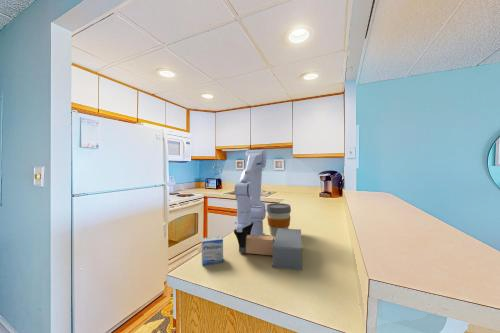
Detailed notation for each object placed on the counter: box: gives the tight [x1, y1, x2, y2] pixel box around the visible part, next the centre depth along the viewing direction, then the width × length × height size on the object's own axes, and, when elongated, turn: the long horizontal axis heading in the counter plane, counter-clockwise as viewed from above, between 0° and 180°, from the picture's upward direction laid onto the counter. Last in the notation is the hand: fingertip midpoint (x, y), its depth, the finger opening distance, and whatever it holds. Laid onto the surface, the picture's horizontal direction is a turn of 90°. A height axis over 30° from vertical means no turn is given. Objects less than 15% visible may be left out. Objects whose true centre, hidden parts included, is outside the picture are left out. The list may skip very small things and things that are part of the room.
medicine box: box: [200, 235, 224, 266], centre depth 76 cm, size 8×4×9 cm, turn 105°
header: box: [272, 228, 303, 271], centre depth 80 cm, size 20×10×8 cm, turn 166°
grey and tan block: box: [238, 235, 275, 256], centre depth 83 cm, size 4×14×6 cm, turn 76°
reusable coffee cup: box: [266, 202, 292, 238], centre depth 104 cm, size 13×13×15 cm
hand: (244, 243), depth 84 cm, fingers open, 7 cm apart
